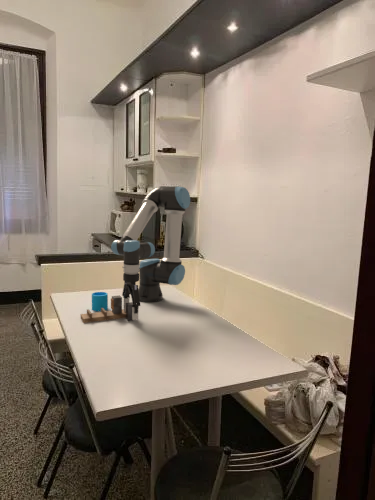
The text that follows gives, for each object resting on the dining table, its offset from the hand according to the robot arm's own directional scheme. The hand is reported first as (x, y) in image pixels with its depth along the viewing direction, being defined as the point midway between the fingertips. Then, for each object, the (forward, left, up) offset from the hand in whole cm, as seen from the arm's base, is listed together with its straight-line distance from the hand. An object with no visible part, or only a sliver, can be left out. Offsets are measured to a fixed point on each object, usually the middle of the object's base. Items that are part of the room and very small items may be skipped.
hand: (130, 315), depth 189 cm
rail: (+10, -8, -2) cm, 12 cm away
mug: (+10, -24, -2) cm, 26 cm away
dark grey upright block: (0, -1, -2) cm, 2 cm away
